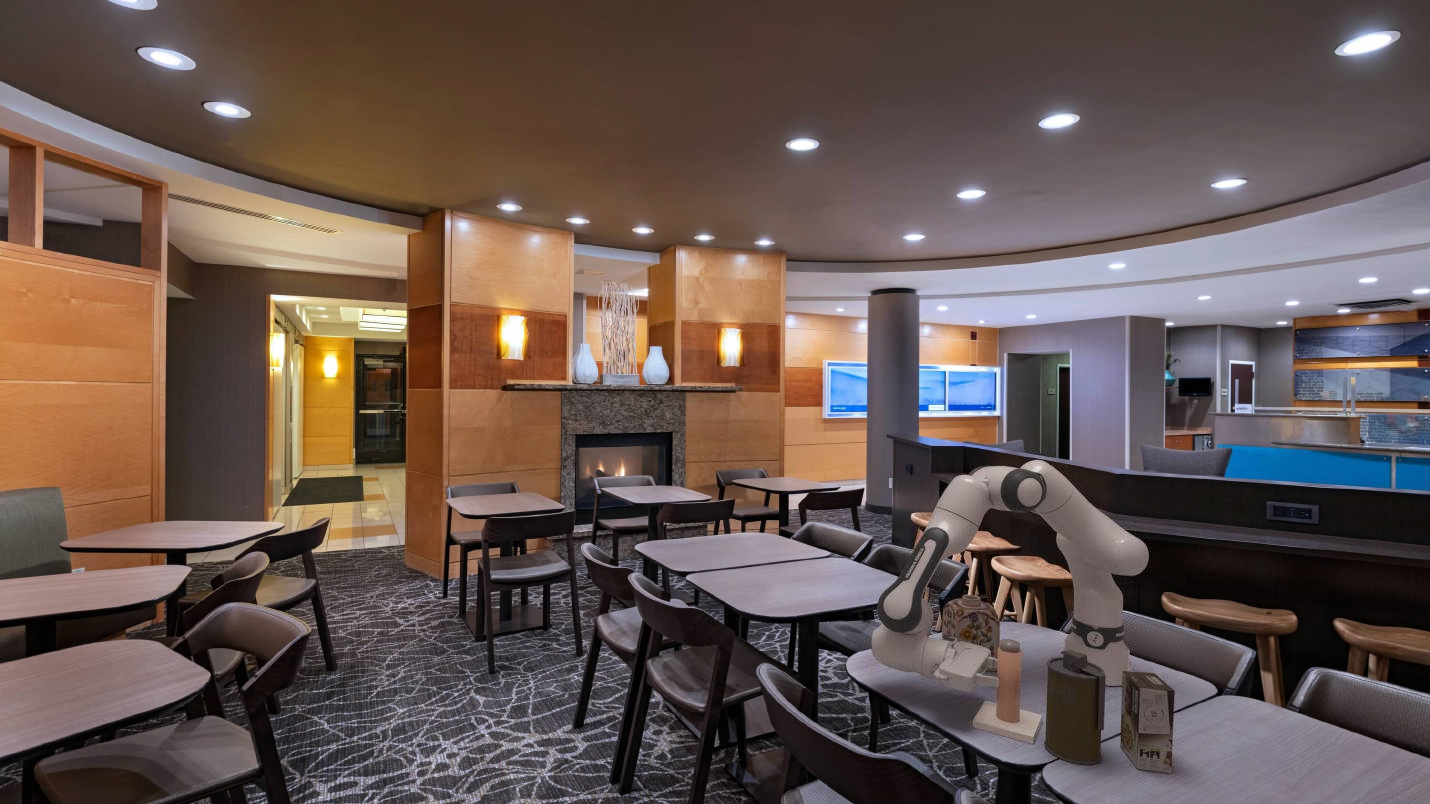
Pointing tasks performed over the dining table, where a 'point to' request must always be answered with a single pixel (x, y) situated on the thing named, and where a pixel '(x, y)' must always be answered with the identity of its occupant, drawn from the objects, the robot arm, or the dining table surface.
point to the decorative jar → (972, 623)
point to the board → (1019, 731)
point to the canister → (1075, 708)
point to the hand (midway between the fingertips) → (1004, 675)
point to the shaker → (1009, 681)
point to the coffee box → (1147, 721)
